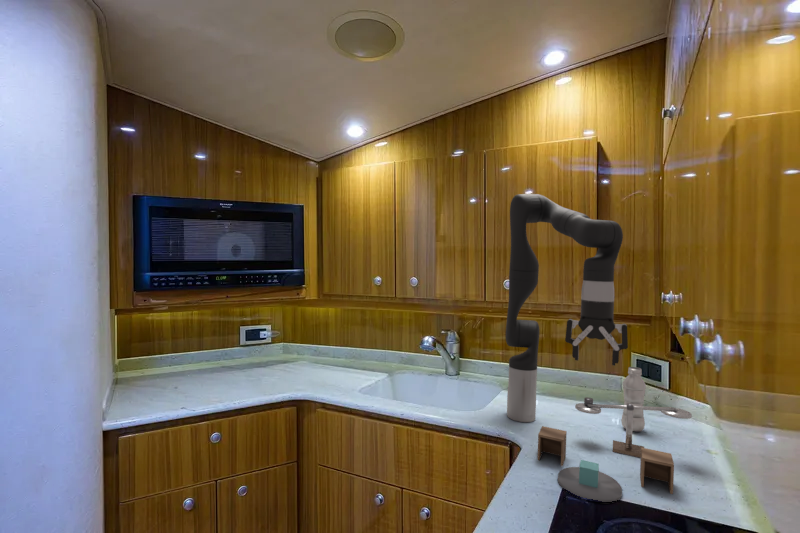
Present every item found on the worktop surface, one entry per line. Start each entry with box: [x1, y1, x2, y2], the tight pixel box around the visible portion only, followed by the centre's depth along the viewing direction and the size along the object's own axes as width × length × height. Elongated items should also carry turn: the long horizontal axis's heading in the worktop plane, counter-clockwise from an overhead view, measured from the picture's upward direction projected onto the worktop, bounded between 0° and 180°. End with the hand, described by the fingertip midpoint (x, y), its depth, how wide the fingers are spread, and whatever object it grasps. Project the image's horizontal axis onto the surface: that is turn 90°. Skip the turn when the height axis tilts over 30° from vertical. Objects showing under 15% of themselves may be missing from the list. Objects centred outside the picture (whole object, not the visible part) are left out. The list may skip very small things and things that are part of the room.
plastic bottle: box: [620, 366, 647, 433], centre depth 133 cm, size 6×7×20 cm
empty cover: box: [639, 447, 675, 495], centre depth 101 cm, size 6×6×7 cm
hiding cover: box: [536, 425, 567, 467], centre depth 113 cm, size 6×6×7 cm
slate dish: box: [557, 466, 623, 503], centre depth 99 cm, size 14×14×1 cm
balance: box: [574, 397, 692, 459], centre depth 118 cm, size 29×7×14 cm, turn 62°
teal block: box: [579, 459, 600, 488], centre depth 99 cm, size 4×4×4 cm
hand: (594, 362), depth 106 cm, fingers open, 8 cm apart
